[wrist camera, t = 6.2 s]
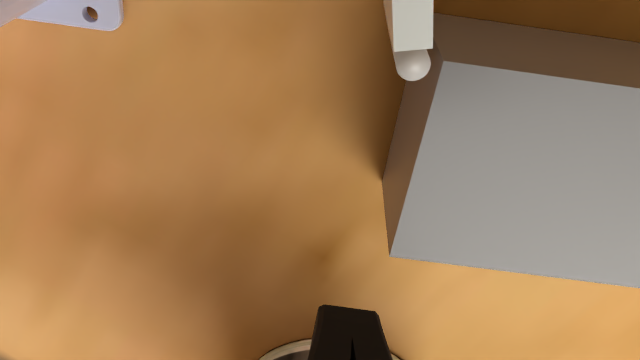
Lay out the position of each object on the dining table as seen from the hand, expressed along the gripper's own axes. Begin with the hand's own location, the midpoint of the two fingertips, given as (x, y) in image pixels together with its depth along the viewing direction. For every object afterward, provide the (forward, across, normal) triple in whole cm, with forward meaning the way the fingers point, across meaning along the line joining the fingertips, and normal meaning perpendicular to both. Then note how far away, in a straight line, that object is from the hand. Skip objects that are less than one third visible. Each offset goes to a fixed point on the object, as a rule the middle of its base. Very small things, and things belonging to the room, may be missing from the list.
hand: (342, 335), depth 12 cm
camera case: (+9, -7, -2) cm, 12 cm away
